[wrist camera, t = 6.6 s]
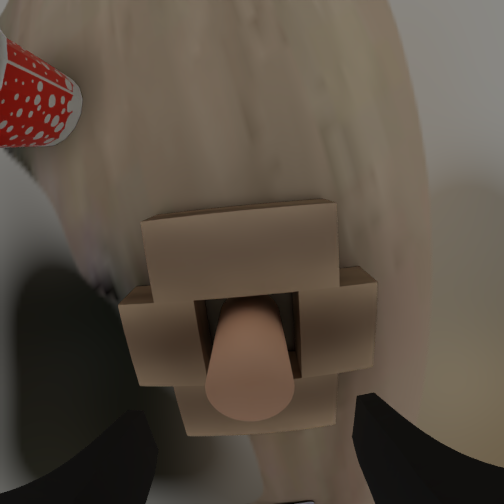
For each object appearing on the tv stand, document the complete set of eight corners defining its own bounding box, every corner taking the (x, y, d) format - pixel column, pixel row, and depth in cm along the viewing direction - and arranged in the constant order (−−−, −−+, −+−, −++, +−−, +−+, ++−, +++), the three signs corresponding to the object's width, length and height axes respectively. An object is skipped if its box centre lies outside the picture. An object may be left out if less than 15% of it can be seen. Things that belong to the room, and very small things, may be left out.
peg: (281, 341, 19) (295, 417, 12) (223, 346, 19) (212, 423, 12) (277, 287, 18) (293, 348, 12) (216, 292, 18) (198, 355, 12)
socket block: (354, 391, 20) (366, 418, 17) (166, 407, 20) (156, 435, 17) (356, 196, 17) (376, 200, 14) (125, 218, 17) (103, 226, 14)
